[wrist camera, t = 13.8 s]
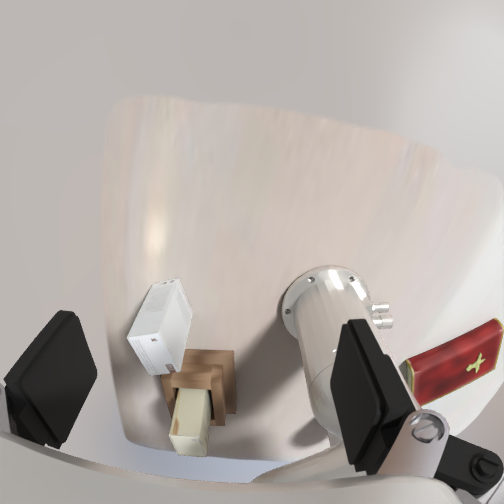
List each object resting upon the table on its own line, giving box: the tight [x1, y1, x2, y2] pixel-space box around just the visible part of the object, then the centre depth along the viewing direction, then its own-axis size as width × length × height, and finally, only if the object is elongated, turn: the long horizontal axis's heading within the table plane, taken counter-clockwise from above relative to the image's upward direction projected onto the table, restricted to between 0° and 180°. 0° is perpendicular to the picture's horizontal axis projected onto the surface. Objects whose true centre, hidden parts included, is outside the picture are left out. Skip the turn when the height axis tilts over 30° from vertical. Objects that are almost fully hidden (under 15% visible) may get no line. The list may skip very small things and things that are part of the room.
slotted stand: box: [160, 349, 236, 426], centre depth 45 cm, size 12×14×6 cm
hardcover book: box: [405, 318, 504, 407], centre depth 46 cm, size 12×21×4 cm, turn 109°
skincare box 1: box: [127, 278, 193, 376], centre depth 36 cm, size 6×4×12 cm
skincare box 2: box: [169, 388, 212, 457], centre depth 41 cm, size 6×4×12 cm
